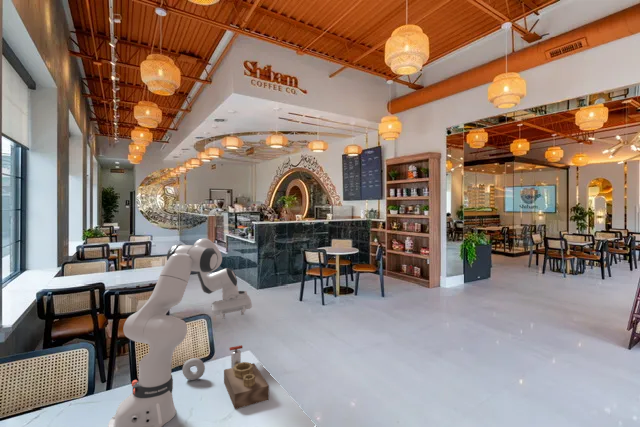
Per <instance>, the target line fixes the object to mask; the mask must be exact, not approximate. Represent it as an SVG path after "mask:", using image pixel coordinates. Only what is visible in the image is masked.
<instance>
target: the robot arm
mask: <svg viewBox="0 0 640 427" xmlns="http://www.w3.org/2000/svg"><path fill="white" fill-rule="evenodd" d="M222 262H223V255H222V252H221V250H220V249H219V248H218V246H217V245H216V243H214V242H213V241H212V240H210V239H209V238H205V237H204V238H200V239H198V240H196V241H195V242H194V244H193V245H191V244H181V243H179V244H174V245H172V246H171V247H169V250H168V251H167V254H166V262H165V264H164V266H163V267H162V270H161V272H160V274H159V276H158V280H157V282H156V284H155V287H154V289H153V290H152V293H151V295H150V296H149V298H148V299H147V300H146V301H145V303H144V304H143V306H142V307H141V308H139V310H137V311H136V312H134V313H133V314H130V315H129V316H128V317H127V318H126V320H125V322H124V324H123V327H122V328H123V329H122V332H123V334H124V336H125V337H126V338H127V339H129V340H131V341H132V342H135V343H141V344H144V345H145V344H146V345H148V347H149V350H148V353H146V354H145V355H144V356H143V357H142V358H141V359H140V360H139V363H138V380H137V379H134V380H132V381H131V387H132V393H131V394H130V395H129V396H126V398H125V399H124V400H122V401H121V402H120V403H119V405H118V407H117V409H116V412H115V414H114V415H113V416H112V417H111V418H110V420H109V421H108V423H107V427H163V426H164V425H165V424H167V423H168V422H170V421H171V420H172V419H173V418H174V417H175V416H176V413H177V409H176V406H175V402H174V397H173V389H174V379H173V375H172V361H173V354H174V352H175V350H176V348H177V347H178V346H179V345H181V344H182V342H184V340H185V339H186V336H187V334H188V326H187V323H186V321H185V320H183V319H181V318H179V317H176V316H173V315H168V314H167V313H168V312H169V311H170V310H171V309H172V308H173V307H174V306H177V305H179V304H180V303H181V302H182V300H183V297H184V294H185V292H186V288H187V286H188V283H189V280H190V276H191V272H196V275H197V276H198V280H199V283H200V288H201V290H202V291H203V293H205V294H208V295H210V294H212V293H215V292H216V291H219V290H221V293H222V299H221V300H217V301H213V302H211V306H210V307H211V313H212V316H215V317H216V316H220V317H221V319H222V320H224V319H226V314H229V313H235V312H240V315H241V316H244V315H245V312H246V310H250V309H251V308H252V307H253V304H252V300H251V297H250V295H248V292H247V291H246V290H239V287H238V279H237V275H236V273H235V272H234V270H233V269H231V268H228V267H227V268H226V267H225V268H224V269H221V270H217V271H216V269H218V268H219V267H220V266H221V264H222ZM213 271H216V272H213ZM211 272H213V273H211ZM209 273H210V274H209Z"/></svg>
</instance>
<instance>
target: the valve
mask: <svg viewBox="0 0 640 427" xmlns="http://www.w3.org/2000/svg"><path fill="white" fill-rule="evenodd" d="M228 348H229V349H228V350H229V351H231V352H230V354H231V355H230V358H231V359H230V360H231V362H230V365H231V366H230V368H233V367H234V366H235V365H236V364H238V363H242V361H241V358H242V357H241V356H242V354H241V353H242V352H241V350H240V349H243V345H237V346H236V345H235V346H230V347H228Z"/></svg>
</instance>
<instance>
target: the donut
mask: <svg viewBox="0 0 640 427" xmlns="http://www.w3.org/2000/svg"><path fill="white" fill-rule="evenodd" d="M205 366H206V365H205V363H204V361H203V360H202V359H199V358H198V357H197V358H196V357H193V358H190V359H187V360H186V361H185V362H184V363H183V365H182V374H183V376H184V377H185V379H187V380H189V381H195V380H198V379H200V378H201V377H202V376H203V375H204V373H205V370H206V367H205ZM191 367H195V368H196V371H192V370H191Z"/></svg>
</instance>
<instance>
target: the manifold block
mask: <svg viewBox="0 0 640 427" xmlns="http://www.w3.org/2000/svg"><path fill="white" fill-rule="evenodd" d="M223 384H224V386H225V389H226V392H227V393H228V396H229V398H230V401H231V403H232V406H233V408H234V410H237V409H241V408H244V407H245V408H246V407H247V406H251V405H255V404H258V403H263V402H265V401H269V398H270V396H269V395H270V392H269V391H270V385H269V384H268V382H267V381H266V379H265V378H264V376H263V374H262V373H261V371H260V370H259V368H258V367H257V365H256V363H254V362H253V363H251V362H246V361H244V362H243V361H241V363H238V364H236V365H235V366H234V367H233V368H231V367H230V368H225V369H223Z"/></svg>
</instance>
